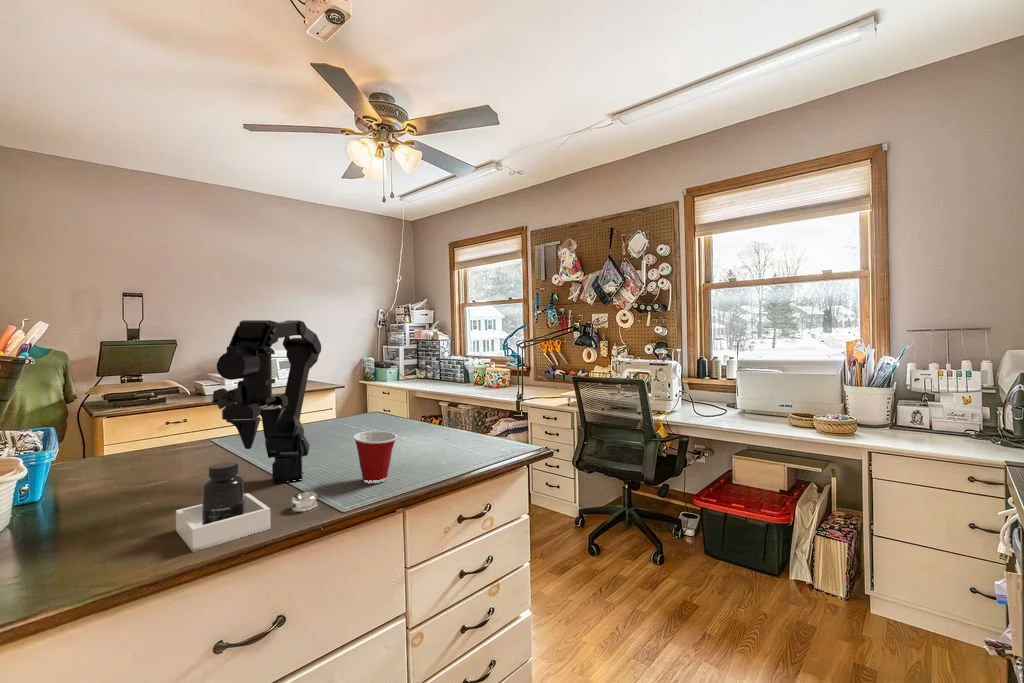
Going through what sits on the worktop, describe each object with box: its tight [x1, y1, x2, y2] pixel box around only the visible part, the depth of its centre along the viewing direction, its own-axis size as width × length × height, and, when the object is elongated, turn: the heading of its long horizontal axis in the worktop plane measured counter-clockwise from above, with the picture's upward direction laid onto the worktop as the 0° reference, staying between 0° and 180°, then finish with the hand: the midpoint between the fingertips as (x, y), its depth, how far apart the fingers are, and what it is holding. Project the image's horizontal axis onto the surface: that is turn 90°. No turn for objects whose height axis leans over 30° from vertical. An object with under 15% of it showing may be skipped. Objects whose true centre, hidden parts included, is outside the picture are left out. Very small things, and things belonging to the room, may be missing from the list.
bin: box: [175, 493, 272, 553], centre depth 87 cm, size 13×13×4 cm
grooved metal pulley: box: [291, 491, 318, 511], centre depth 98 cm, size 5×3×5 cm
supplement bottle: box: [201, 461, 245, 525], centre depth 87 cm, size 7×7×12 cm
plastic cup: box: [353, 430, 398, 481], centre depth 116 cm, size 11×11×12 cm
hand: (258, 443), depth 102 cm, fingers open, 9 cm apart
